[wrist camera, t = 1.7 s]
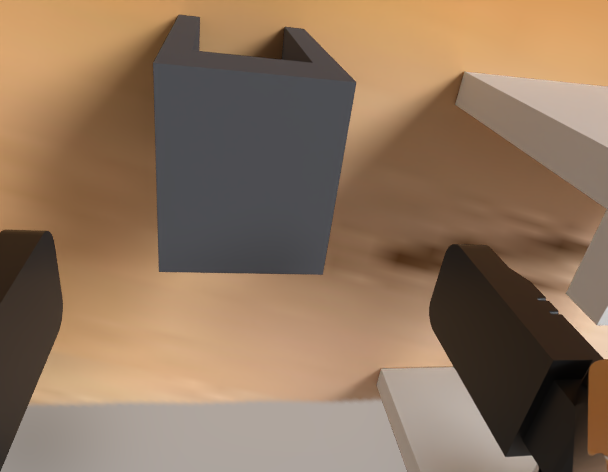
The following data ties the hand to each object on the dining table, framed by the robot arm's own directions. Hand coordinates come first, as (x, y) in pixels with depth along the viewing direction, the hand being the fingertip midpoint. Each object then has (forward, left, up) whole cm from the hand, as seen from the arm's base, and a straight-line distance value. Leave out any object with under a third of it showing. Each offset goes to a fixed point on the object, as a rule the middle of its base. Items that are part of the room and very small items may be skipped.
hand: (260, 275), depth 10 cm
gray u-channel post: (0, 0, -13) cm, 13 cm away
